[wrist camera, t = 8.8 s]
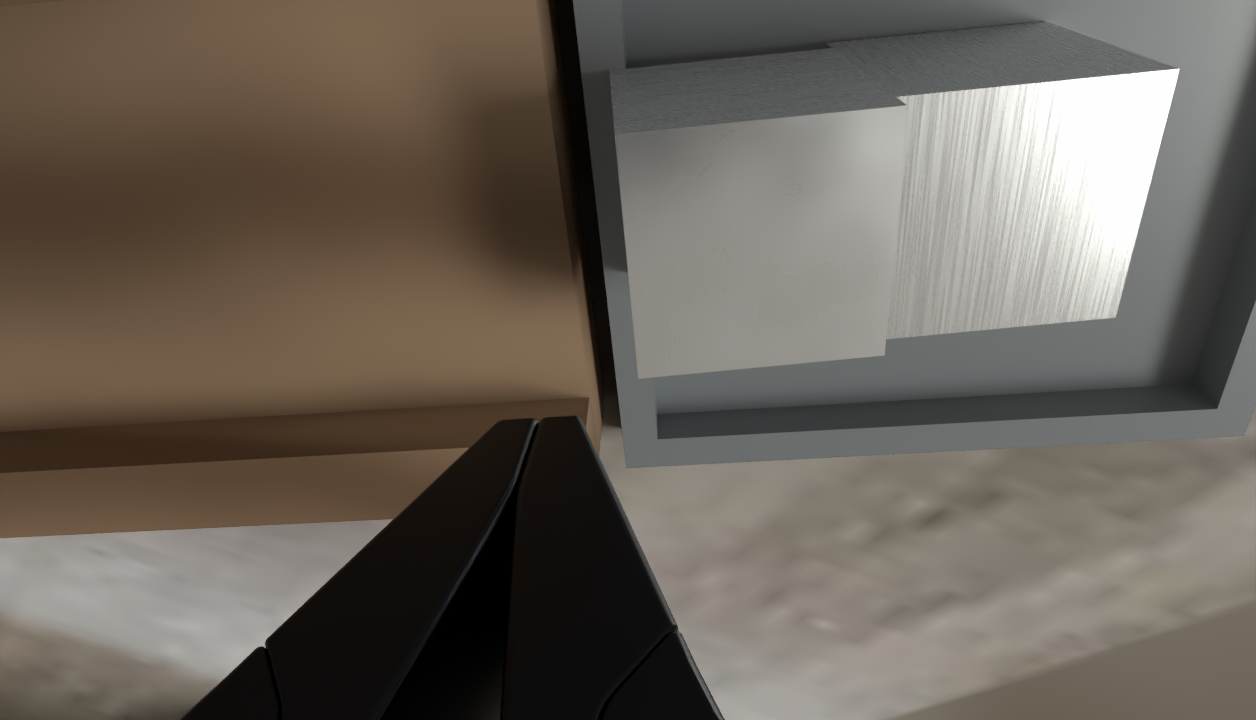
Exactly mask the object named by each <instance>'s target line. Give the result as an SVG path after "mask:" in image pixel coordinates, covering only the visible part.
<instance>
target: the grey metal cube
mask: <svg viewBox="0 0 1256 720" xmlns="http://www.w3.org/2000/svg"><path fill="white" fill-rule="evenodd" d="M827 48H834V49H835V50H837V51H838V52H839V53H840V54H842V55H843V56H844V57H846V58H847V59H848V60H849V61H851V62H852V63H853V64H855V65H856V66H857V67H858V68H860V69H861V70H862V71H864V72H865V73H866V74H867V75H869V76H870V77H871V78H873V79H874V80H875V81H876V82H878V83H879V84H880V85H882V86H883V87H884V88H885V89H887V90H888V91H889V92H891V93H892V94H893V95H894V96H896V97H897V98H898V99H900V100H901V101H902V102H903V103H905V104H906V105H907V113H906V124H905V135H904V146H903V157H902V168H901V180H900V191H899V202H898V213H897V224H896V235H895V246H894V257H893V269H892V280H891V291H890V302H889V313H888V324H887V335H886V339H895V338H905V337H916V336H927V335H937V334H948V333H958V332H969V331H979V330H990V329H1000V328H1011V327H1022V326H1032V325H1043V324H1053V323H1064V322H1074V321H1085V320H1095V319H1106V318H1116V315H1117V311H1118V307H1119V303H1120V299H1121V295H1122V291H1123V287H1124V283H1125V279H1126V276H1127V272H1128V268H1129V264H1130V260H1131V256H1132V252H1133V248H1134V244H1135V240H1136V237H1137V233H1138V229H1139V225H1140V221H1141V217H1142V213H1143V209H1144V205H1145V201H1146V197H1147V194H1148V190H1149V186H1150V182H1151V178H1152V174H1153V170H1154V166H1155V162H1156V158H1157V155H1158V151H1159V147H1160V143H1161V139H1162V135H1163V131H1164V127H1165V123H1166V119H1167V116H1168V112H1169V108H1170V104H1171V100H1172V96H1173V92H1174V88H1175V84H1176V80H1177V76H1178V73H1179V69H1178V68H1176V67H1173V66H1170V65H1167V64H1164V63H1162V62H1159V61H1156V60H1153V59H1150V58H1147V57H1145V56H1142V55H1139V54H1136V53H1133V52H1131V51H1128V50H1125V49H1122V48H1119V47H1116V46H1114V45H1111V44H1108V43H1105V42H1102V41H1100V40H1097V39H1094V38H1091V37H1088V36H1085V35H1083V34H1080V33H1077V32H1074V31H1071V30H1069V29H1066V28H1063V27H1060V26H1057V25H1054V24H1052V23H1049V22H1046V21H1042V22H1032V23H1022V24H1012V25H1002V26H992V27H982V28H972V29H962V30H952V31H942V32H932V33H922V34H912V35H902V36H892V37H882V38H872V39H862V40H852V41H842V42H832V43H826V49H827Z"/></svg>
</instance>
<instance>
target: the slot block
mask: <svg viewBox="0 0 1256 720" xmlns="http://www.w3.org/2000/svg"><path fill="white" fill-rule="evenodd" d="M603 406H604V393H603V385H602V377H601V369H600V361H599V353H598V345H597V337H596V329H595V321H594V313H593V305H592V297H591V289H590V281H589V273H588V265H587V257H586V249H585V241H584V233H583V225H582V217H581V209H580V201H579V194H578V186H577V178H576V170H575V162H574V154H573V146H572V138H571V130H570V122H569V114H568V106H567V98H566V90H565V82H564V74H563V66H562V58H561V50H560V42H559V34H558V26H557V18H556V10H555V2H554V0H0V538H12V537H33V536H53V535H74V534H94V533H115V532H135V531H156V530H176V529H197V528H218V527H238V526H259V525H279V524H300V523H320V522H341V521H361V520H382V519H394V518H395V517H396V516H398V515H399V514H400V513H401V512H402V511H403V510H404V509H405V508H406V507H407V506H408V505H409V504H410V503H411V502H412V501H413V500H414V499H416V498H417V497H418V496H419V495H420V494H421V493H422V492H423V491H424V490H425V489H426V488H427V487H428V486H429V485H430V484H431V483H432V482H434V481H435V480H436V479H437V478H438V477H439V476H440V475H441V474H442V473H443V472H444V471H445V470H446V469H447V468H448V467H449V466H450V465H452V464H453V463H454V462H455V461H456V460H457V459H458V458H459V457H460V456H461V455H462V454H463V453H464V452H465V451H466V450H467V449H468V448H469V447H471V446H472V445H473V444H474V443H475V442H476V441H477V440H478V439H479V438H480V437H481V436H482V435H483V434H484V433H485V432H486V431H487V430H489V429H490V428H491V427H492V426H493V425H494V424H495V423H496V422H498V421H499V420H503V419H519V418H535V419H537V420H538V421H539V422H540V420H541V419H543V418H545V417H555V416H572V415H575V416H578V417H580V418H581V419H582V421H583V423H584V425H585V428H586V430H587V432H588V434H589V436H590V438H591V441H592V443H593V445H594V447H595V449H596V451H597V453H598V456H599V451H600V440H601V429H602V417H603Z"/></svg>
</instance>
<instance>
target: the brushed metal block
mask: <svg viewBox="0 0 1256 720" xmlns="http://www.w3.org/2000/svg"><path fill="white" fill-rule="evenodd" d="M609 72H610V85H611V97H612V109H613V121H614V133H615V143H616V154H617V164H618V174H619V185H620V195H621V205H622V215H623V226H624V236H625V246H626V257H627V267H628V277H629V288H630V298H631V308H632V318H633V329H634V339H635V349H636V360H637V370H638V379H642V378H652V377H663V376H674V375H684V374H695V373H705V372H716V371H726V370H737V369H748V368H758V367H769V366H779V365H790V364H800V363H811V362H821V361H832V360H843V359H853V358H864V357H874V356H885V346H886V335H887V324H888V313H889V302H890V291H891V280H892V269H893V257H894V246H895V235H896V224H897V213H898V202H899V191H900V180H901V168H902V157H903V146H904V135H905V124H906V113H907V105H906V104H905V103H903V102H902V101H901V100H900V99H898V98H897V97H896V96H894V95H893V94H892V93H891V92H889V91H888V90H887V89H885V88H884V87H883V86H882V85H880V84H879V83H878V82H876V81H875V80H874V79H873V78H871V77H870V76H869V75H867V74H866V73H865V72H864V71H862V70H861V69H860V68H858V67H857V66H856V65H855V64H853V63H852V62H851V61H849V60H848V59H847V58H846V57H844V56H843V55H842V54H840V53H839V52H838V51H837V50H835V49H834V48H827V49H817V50H807V51H797V52H787V53H777V54H767V55H757V56H747V57H737V58H727V59H717V60H707V61H697V62H687V63H677V64H667V65H657V66H647V67H637V68H627V69H617V70H609Z"/></svg>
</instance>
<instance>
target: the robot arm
mask: <svg viewBox="0 0 1256 720" xmlns="http://www.w3.org/2000/svg"><path fill="white" fill-rule="evenodd" d="M265 646H266V648H264V647H258V648H256V649H255V650H254V651H253V652H252V653H251V654H250V655H249V656H248V657H247V658H246V659H245V660H244V661H243V662H242V663H240V664H239V665H238V666H237V667H236V668H235V669H234V670H233V671H232V672H231V673H230V674H229V675H228V676H227V677H226V678H225V679H223V680H222V681H221V682H220V683H219V684H218V685H217V686H216V687H215V688H214V689H212V690H211V691H210V692H209V693H208V694H207V695H206V696H205V697H204V698H203V699H201V700H200V701H199V702H198V703H197V704H196V705H195V706H194V707H193V708H191V709H190V710H189V711H188V712H187V713H186V714H185V715H184V716H183V717H182V718H180V719H179V720H725V719H724V718H723V716H722V714H721V712H720V710H719V708H718V707H717V705H716V703H715V701H714V699H713V697H712V695H711V693H710V691H709V689H708V687H707V685H706V683H705V681H704V679H703V677H702V675H701V674H700V672H699V670H698V668H697V666H696V664H695V662H694V659H693V657H692V655H691V653H690V651H689V649H688V647H687V644H686V642H685V640H684V638H683V636H682V634H681V633H680V632H678V626H677V624H676V622H675V620H674V617H673V615H672V613H671V611H670V609H669V607H668V605H667V602H666V600H665V598H664V596H663V594H662V592H661V589H660V587H659V585H658V583H657V581H656V579H655V576H654V574H653V572H652V570H651V568H650V566H649V564H648V561H647V559H646V557H645V555H644V553H643V551H642V548H641V546H640V544H639V542H638V540H637V538H636V535H635V533H634V531H633V529H632V527H631V525H630V523H629V520H628V518H627V516H626V514H625V512H624V510H623V507H622V505H621V503H620V501H619V499H618V497H617V494H616V492H615V490H614V488H613V486H612V484H611V482H610V479H609V477H608V475H607V473H606V471H605V469H604V466H603V464H602V462H601V460H600V458H599V456H598V453H597V451H596V449H595V447H594V445H593V443H592V441H591V438H590V436H589V434H588V432H587V430H586V428H585V425H584V423H583V421H582V419H581V418H580V417H578V416H575V415H572V416H555V417H545V418H543V419H541V420H540V422H539V421H538V420H537V419H535V418H519V419H503V420H499V421H498V422H496V423H495V424H494V425H493V426H492V427H491V428H490V429H489V430H487V431H486V432H485V433H484V434H483V435H482V436H481V437H480V438H479V439H478V440H477V441H476V442H475V443H474V444H473V445H472V446H471V447H469V448H468V449H467V450H466V451H465V452H464V453H463V454H462V455H461V456H460V457H459V458H458V459H457V460H456V461H455V462H454V463H453V464H452V465H450V466H449V467H448V468H447V469H446V470H445V471H444V472H443V473H442V474H441V475H440V476H439V477H438V478H437V479H436V480H435V481H434V482H432V483H431V484H430V485H429V486H428V487H427V488H426V489H425V490H424V491H423V492H422V493H421V494H420V495H419V496H418V497H417V498H416V499H414V500H413V501H412V502H411V503H410V504H409V505H408V506H407V507H406V508H405V509H404V510H403V511H402V512H401V513H400V514H399V515H398V516H396V517H395V518H394V519H393V520H392V521H391V522H390V523H389V524H388V525H387V526H386V527H385V528H384V529H383V530H382V531H381V532H380V533H378V534H377V535H376V536H375V537H374V538H373V539H372V540H371V541H370V542H369V543H368V544H367V545H366V546H365V547H364V548H363V549H362V550H361V551H359V552H358V553H357V554H356V555H355V556H354V557H353V558H352V559H351V560H350V561H349V562H348V563H347V564H346V565H345V566H344V567H343V568H341V569H340V570H339V571H338V572H337V573H336V574H335V575H334V576H333V577H332V578H331V579H330V580H329V581H328V582H327V583H326V584H325V585H323V586H322V587H321V588H320V589H319V590H318V591H317V592H316V593H315V594H314V595H313V596H312V597H311V598H310V599H309V600H308V601H307V602H305V603H304V604H303V605H302V606H301V607H300V608H299V609H298V610H297V611H296V612H295V613H294V614H293V615H292V616H291V617H290V618H289V619H287V620H286V621H285V622H284V623H283V624H282V625H281V626H280V627H279V628H278V629H277V630H276V631H275V632H274V633H273V634H272V635H271V636H270V637H268V638H267V640H266V642H265Z"/></svg>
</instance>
